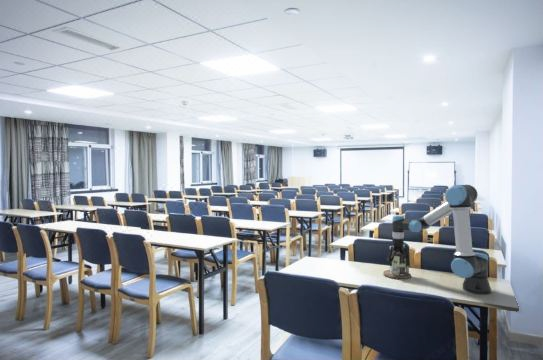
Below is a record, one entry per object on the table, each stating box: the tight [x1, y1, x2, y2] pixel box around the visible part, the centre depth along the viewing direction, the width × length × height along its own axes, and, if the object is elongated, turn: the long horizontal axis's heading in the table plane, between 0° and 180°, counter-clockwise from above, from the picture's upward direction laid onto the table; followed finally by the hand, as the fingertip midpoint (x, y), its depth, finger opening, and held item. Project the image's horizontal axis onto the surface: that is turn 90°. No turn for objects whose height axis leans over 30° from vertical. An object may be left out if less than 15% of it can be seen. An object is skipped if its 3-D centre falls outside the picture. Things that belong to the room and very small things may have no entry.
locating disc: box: [382, 265, 412, 281], centre depth 253 cm, size 18×18×8 cm
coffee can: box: [389, 251, 407, 275], centre depth 252 cm, size 10×10×14 cm
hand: (397, 269), depth 252 cm, fingers open, 10 cm apart
